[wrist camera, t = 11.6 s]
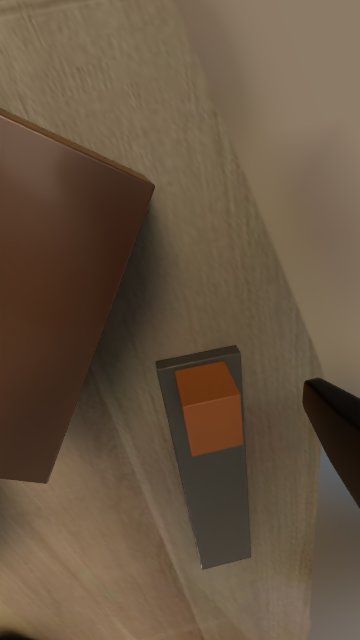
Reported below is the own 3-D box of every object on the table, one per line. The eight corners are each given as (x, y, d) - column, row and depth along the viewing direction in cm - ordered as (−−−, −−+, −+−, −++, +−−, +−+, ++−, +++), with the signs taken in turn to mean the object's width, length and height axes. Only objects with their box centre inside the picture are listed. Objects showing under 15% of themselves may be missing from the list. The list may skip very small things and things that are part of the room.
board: (155, 361, 21) (156, 369, 21) (236, 344, 22) (240, 352, 21) (200, 560, 36) (202, 570, 35) (248, 547, 36) (251, 557, 35)
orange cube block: (174, 370, 21) (182, 407, 18) (224, 359, 21) (240, 394, 18) (182, 417, 23) (191, 457, 20) (228, 407, 23) (243, 445, 20)
